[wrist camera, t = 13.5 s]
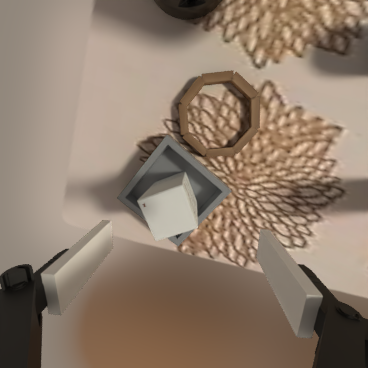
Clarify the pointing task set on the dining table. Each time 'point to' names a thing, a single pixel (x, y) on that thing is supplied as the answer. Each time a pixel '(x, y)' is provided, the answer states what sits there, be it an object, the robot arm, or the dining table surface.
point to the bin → (168, 166)
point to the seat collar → (240, 86)
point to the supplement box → (170, 207)
